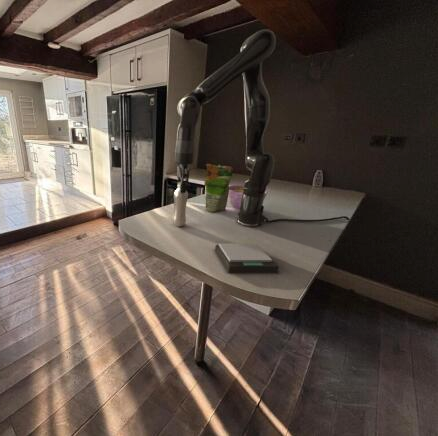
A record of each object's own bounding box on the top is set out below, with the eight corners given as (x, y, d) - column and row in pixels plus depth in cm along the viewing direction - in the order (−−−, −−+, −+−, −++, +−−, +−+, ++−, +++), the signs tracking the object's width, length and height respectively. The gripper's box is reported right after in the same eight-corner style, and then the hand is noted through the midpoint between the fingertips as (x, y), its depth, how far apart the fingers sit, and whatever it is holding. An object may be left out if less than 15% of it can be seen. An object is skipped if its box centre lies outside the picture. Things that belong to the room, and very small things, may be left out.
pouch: (228, 213, 123) (236, 165, 114) (207, 213, 122) (213, 165, 112) (219, 206, 133) (226, 162, 124) (199, 206, 132) (205, 162, 122)
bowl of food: (267, 217, 119) (273, 195, 114) (227, 214, 121) (231, 193, 117) (257, 205, 137) (261, 186, 132) (222, 202, 140) (225, 183, 135)
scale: (256, 250, 87) (258, 242, 86) (277, 272, 74) (279, 264, 73) (214, 250, 86) (216, 242, 85) (228, 272, 73) (229, 264, 72)
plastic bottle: (186, 223, 109) (190, 181, 101) (184, 229, 103) (188, 185, 96) (173, 221, 111) (176, 180, 103) (169, 226, 105) (172, 183, 97)
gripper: (197, 153, 88) (193, 194, 94) (190, 149, 101) (186, 186, 107) (178, 153, 88) (175, 194, 94) (173, 149, 101) (170, 185, 107)
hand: (181, 189), depth 101 cm, fingers open, 8 cm apart
